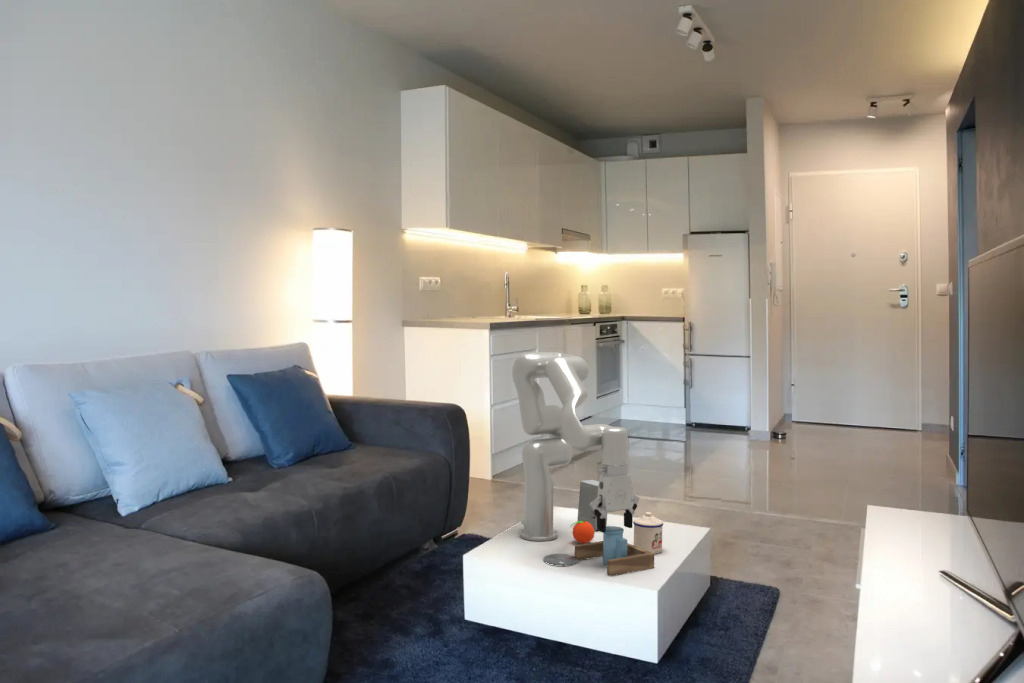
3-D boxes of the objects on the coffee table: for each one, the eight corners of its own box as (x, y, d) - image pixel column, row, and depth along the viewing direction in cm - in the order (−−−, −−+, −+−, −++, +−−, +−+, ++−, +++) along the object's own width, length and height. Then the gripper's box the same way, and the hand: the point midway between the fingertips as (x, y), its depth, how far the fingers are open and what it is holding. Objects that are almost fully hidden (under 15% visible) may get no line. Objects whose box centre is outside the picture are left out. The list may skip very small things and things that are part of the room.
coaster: (537, 558, 220) (537, 556, 220) (565, 553, 226) (565, 551, 226) (556, 568, 212) (556, 566, 212) (584, 563, 217) (584, 561, 217)
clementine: (570, 546, 234) (570, 523, 233) (567, 540, 240) (568, 517, 240) (595, 546, 234) (596, 523, 234) (592, 540, 241) (593, 518, 241)
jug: (597, 562, 218) (598, 527, 218) (614, 559, 221) (614, 525, 221) (615, 570, 211) (616, 534, 211) (632, 567, 214) (632, 532, 214)
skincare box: (576, 527, 256) (577, 481, 256) (590, 523, 261) (591, 478, 261) (595, 532, 250) (596, 485, 250) (609, 528, 255) (610, 482, 254)
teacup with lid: (656, 556, 224) (657, 517, 224) (628, 551, 229) (628, 513, 229) (670, 546, 234) (670, 509, 234) (642, 542, 239) (643, 505, 239)
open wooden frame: (574, 559, 221) (574, 545, 221) (616, 551, 228) (616, 538, 228) (610, 576, 206) (610, 561, 206) (654, 567, 214) (654, 553, 214)
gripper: (598, 474, 209) (598, 536, 209) (646, 469, 217) (646, 528, 217) (582, 470, 215) (582, 530, 215) (629, 465, 224) (630, 523, 224)
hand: (614, 529), depth 216 cm, fingers open, 9 cm apart
